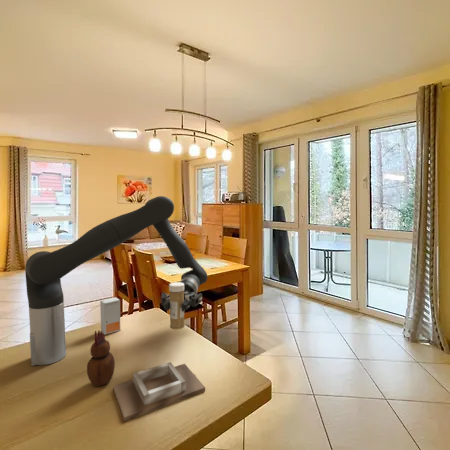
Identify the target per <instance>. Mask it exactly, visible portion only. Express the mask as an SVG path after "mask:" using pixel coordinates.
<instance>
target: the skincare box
mask: <svg viewBox="0 0 450 450" xmlns="http://www.w3.org/2000/svg"><path fill="white" fill-rule="evenodd" d="M99 306H100V307H99V308H100V309H99V310H100V332H101V331H102V332H101V333H102V334H104V336H106V335H108V334H112V333H116V332H120V331H121V299H119V298H118V297H116V296H115V297H111V298H106V299H101V300H99Z"/></svg>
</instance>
